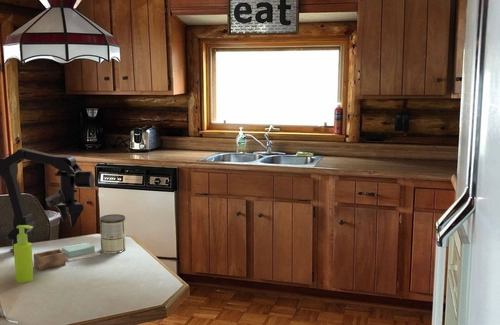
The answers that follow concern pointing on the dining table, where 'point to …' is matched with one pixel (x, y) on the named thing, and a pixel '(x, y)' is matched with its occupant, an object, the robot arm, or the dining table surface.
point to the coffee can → (112, 233)
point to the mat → (81, 256)
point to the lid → (78, 250)
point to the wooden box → (49, 259)
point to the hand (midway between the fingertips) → (68, 224)
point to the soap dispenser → (23, 256)
